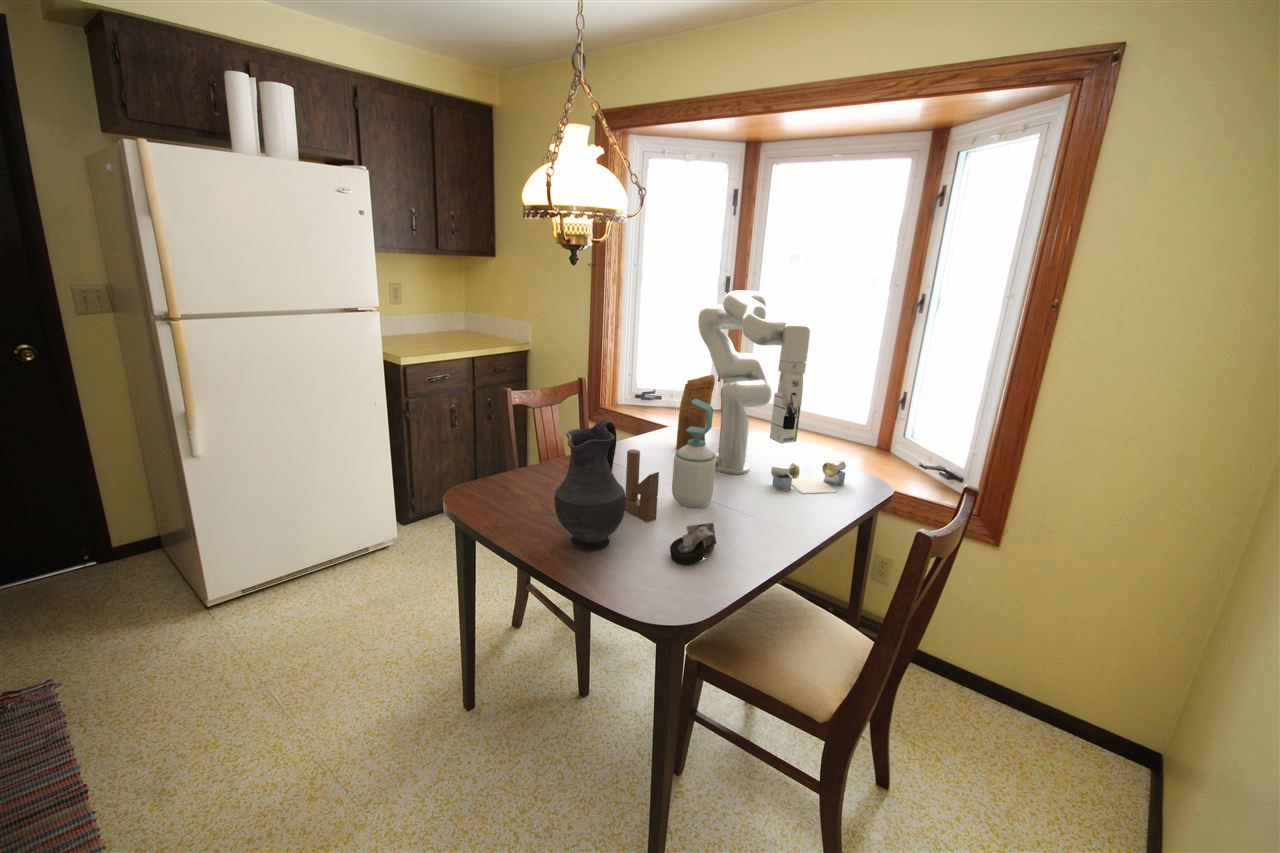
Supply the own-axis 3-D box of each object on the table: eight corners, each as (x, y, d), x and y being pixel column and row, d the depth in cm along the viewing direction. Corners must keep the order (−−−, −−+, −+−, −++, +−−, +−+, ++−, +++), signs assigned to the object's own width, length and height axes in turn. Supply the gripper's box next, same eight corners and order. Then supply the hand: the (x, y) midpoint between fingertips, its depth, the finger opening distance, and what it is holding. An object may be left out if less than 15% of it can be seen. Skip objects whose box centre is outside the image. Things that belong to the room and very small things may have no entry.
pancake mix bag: (715, 444, 221) (721, 375, 213) (681, 453, 209) (686, 380, 201) (702, 440, 226) (708, 372, 218) (669, 448, 214) (673, 377, 206)
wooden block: (647, 523, 151) (650, 461, 146) (621, 509, 159) (623, 450, 154) (656, 519, 154) (660, 458, 149) (631, 506, 161) (633, 447, 156)
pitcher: (542, 549, 135) (541, 431, 127) (581, 515, 154) (583, 411, 145) (606, 565, 129) (610, 443, 121) (639, 528, 148) (644, 420, 139)
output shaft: (833, 487, 182) (837, 464, 180) (820, 482, 186) (823, 460, 183) (846, 482, 187) (849, 460, 185) (832, 478, 191) (835, 456, 188)
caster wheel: (673, 574, 132) (672, 548, 141) (720, 569, 130) (716, 542, 139) (668, 552, 129) (667, 526, 138) (717, 546, 128) (713, 521, 137)
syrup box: (781, 444, 163) (788, 396, 159) (768, 438, 168) (774, 391, 164) (796, 442, 166) (803, 395, 162) (783, 436, 171) (789, 390, 167)
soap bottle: (678, 490, 174) (684, 394, 165) (716, 498, 170) (725, 399, 161) (665, 505, 163) (672, 402, 154) (706, 513, 159) (715, 408, 150)
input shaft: (774, 490, 178) (777, 467, 175) (768, 484, 182) (770, 461, 180) (797, 489, 179) (800, 466, 177) (790, 483, 184) (793, 460, 182)
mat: (801, 493, 176) (802, 493, 176) (785, 479, 187) (785, 478, 187) (836, 492, 178) (836, 491, 178) (818, 478, 190) (818, 477, 189)
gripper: (814, 373, 152) (805, 434, 158) (796, 361, 169) (788, 417, 174) (787, 372, 152) (779, 433, 157) (771, 360, 169) (765, 416, 174)
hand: (784, 424), depth 166 cm, fingers closed on syrup box, 7 cm apart
